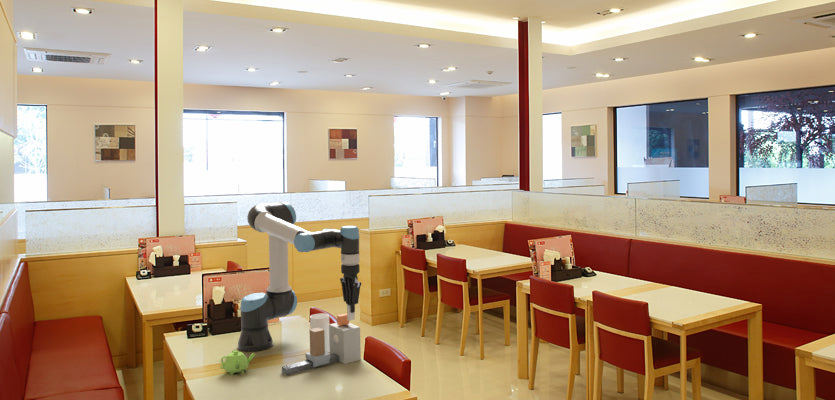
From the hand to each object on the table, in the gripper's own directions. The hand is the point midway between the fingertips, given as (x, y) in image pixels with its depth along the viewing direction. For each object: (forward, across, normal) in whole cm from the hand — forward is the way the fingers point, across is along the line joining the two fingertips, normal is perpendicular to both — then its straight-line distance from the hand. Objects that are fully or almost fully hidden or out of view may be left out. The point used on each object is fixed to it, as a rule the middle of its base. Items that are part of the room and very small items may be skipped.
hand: (351, 319), depth 240 cm
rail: (+18, -5, -16) cm, 25 cm away
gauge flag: (+4, -6, 0) cm, 8 cm away
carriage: (+17, -5, -13) cm, 22 cm away
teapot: (+19, -20, -41) cm, 49 cm away
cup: (+18, -19, -4) cm, 27 cm away
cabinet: (+18, -5, 0) cm, 19 cm away
